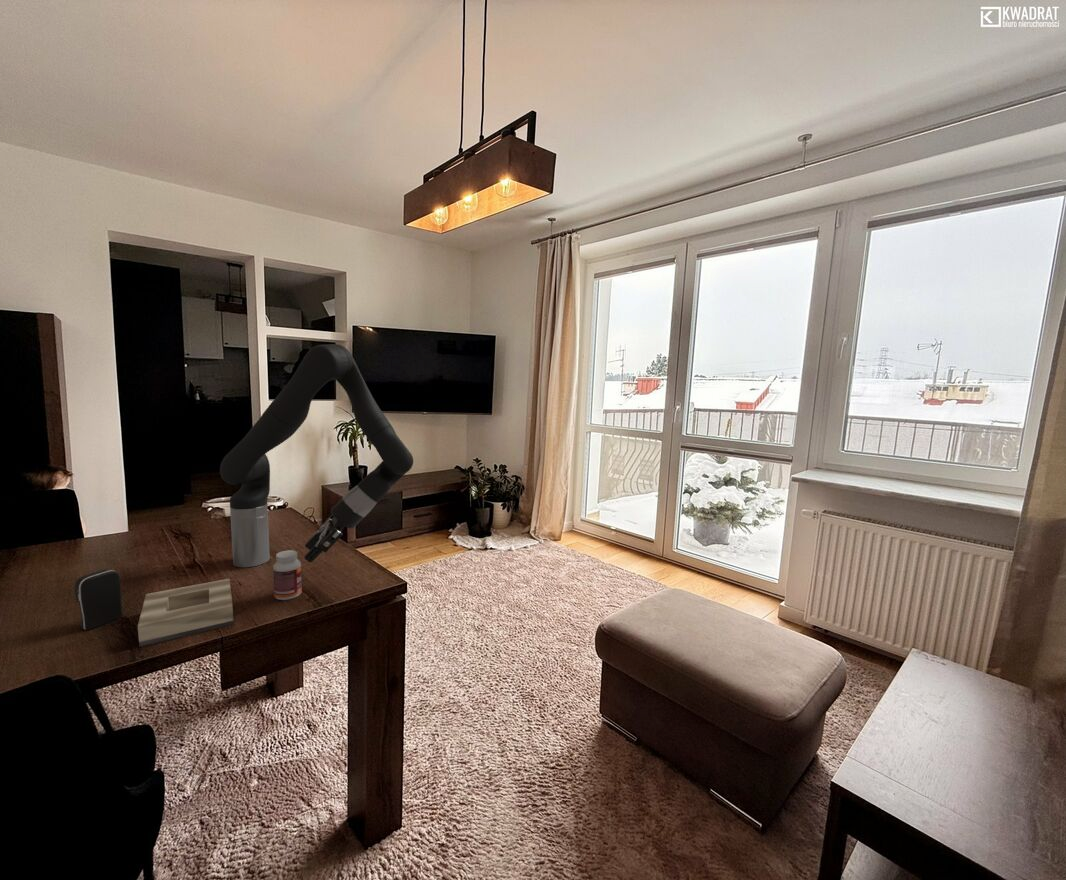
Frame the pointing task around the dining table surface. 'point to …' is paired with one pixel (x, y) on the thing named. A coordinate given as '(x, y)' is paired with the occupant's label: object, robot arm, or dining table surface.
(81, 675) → the dining table surface
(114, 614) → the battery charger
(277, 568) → the pill bottle
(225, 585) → the socket block
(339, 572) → the dining table surface
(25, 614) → the dining table surface
